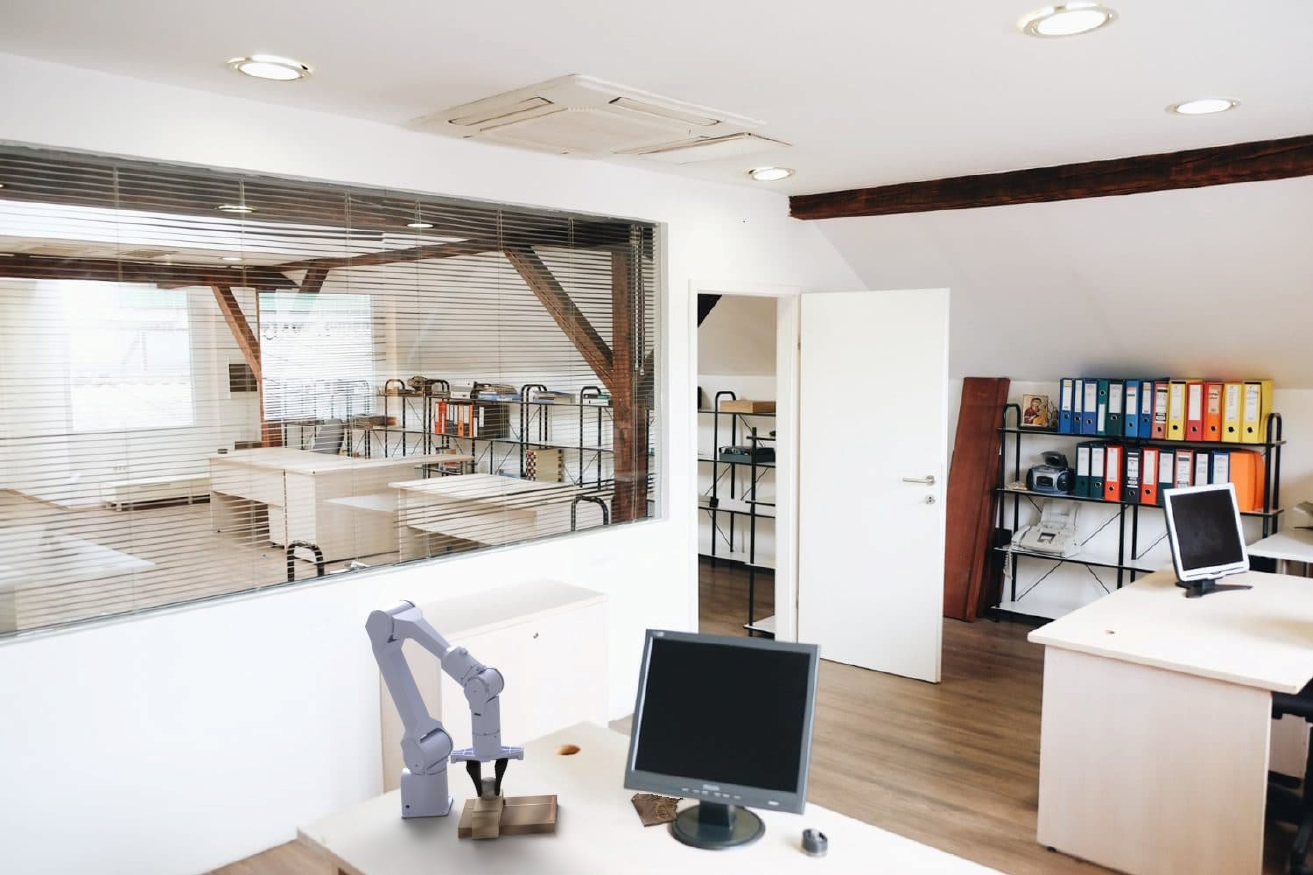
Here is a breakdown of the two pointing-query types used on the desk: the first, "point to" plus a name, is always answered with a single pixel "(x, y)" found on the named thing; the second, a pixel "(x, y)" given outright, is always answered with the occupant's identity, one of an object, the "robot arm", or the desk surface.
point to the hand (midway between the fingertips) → (489, 794)
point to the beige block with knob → (487, 810)
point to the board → (517, 816)
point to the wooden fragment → (655, 808)
